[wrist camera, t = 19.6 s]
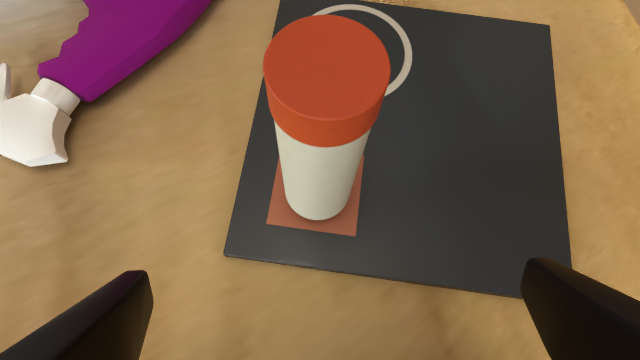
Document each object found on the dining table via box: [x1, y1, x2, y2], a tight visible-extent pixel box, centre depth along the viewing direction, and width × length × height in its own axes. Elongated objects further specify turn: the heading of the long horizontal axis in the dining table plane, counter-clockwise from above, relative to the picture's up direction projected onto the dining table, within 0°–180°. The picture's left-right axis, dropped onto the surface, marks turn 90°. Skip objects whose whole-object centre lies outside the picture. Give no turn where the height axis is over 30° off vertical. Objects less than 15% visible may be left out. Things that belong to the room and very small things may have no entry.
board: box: [223, 0, 572, 299], centre depth 25 cm, size 19×19×1 cm
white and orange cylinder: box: [263, 15, 391, 220], centre depth 17 cm, size 4×4×12 cm
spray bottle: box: [0, 0, 212, 167], centre depth 26 cm, size 3×11×24 cm
